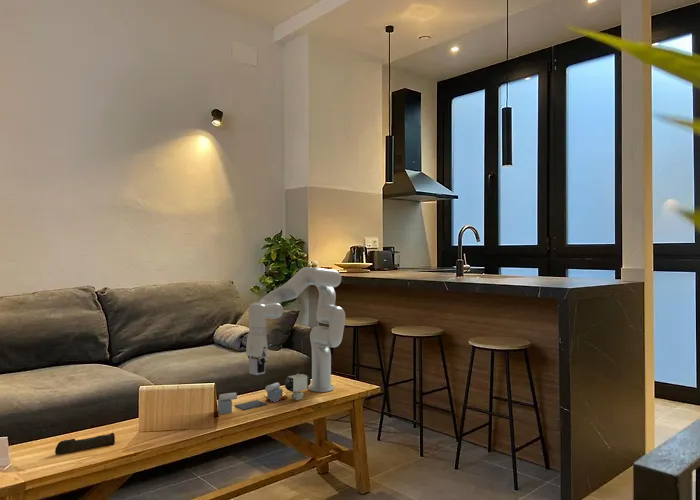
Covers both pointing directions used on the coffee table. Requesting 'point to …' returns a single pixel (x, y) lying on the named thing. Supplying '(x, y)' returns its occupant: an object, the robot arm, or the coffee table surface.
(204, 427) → the coffee table surface
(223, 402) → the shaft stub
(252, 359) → the block
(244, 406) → the pad
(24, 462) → the coffee table surface
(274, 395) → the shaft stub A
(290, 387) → the pneumatic valve
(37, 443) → the coffee table surface
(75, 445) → the hand tool
